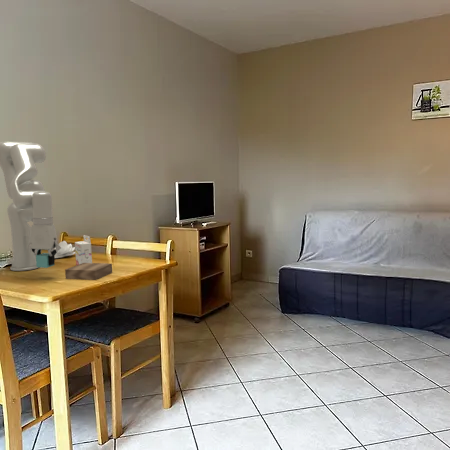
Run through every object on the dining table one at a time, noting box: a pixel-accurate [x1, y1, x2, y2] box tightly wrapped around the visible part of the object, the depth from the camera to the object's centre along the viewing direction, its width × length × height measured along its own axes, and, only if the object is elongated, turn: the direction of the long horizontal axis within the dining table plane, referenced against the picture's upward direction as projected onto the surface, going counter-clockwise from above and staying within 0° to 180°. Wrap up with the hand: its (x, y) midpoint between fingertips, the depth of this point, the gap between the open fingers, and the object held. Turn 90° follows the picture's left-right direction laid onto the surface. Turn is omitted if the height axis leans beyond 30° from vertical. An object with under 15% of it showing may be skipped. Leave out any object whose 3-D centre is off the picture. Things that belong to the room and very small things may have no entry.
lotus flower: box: [54, 240, 76, 259], centre depth 223 cm, size 14×15×9 cm
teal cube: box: [36, 252, 55, 269], centre depth 173 cm, size 5×5×5 cm
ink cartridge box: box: [74, 234, 93, 266], centre depth 196 cm, size 9×5×15 cm, turn 41°
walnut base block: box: [64, 262, 113, 281], centre depth 177 cm, size 14×14×4 cm
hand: (45, 264), depth 173 cm, fingers closed on teal cube, 5 cm apart
